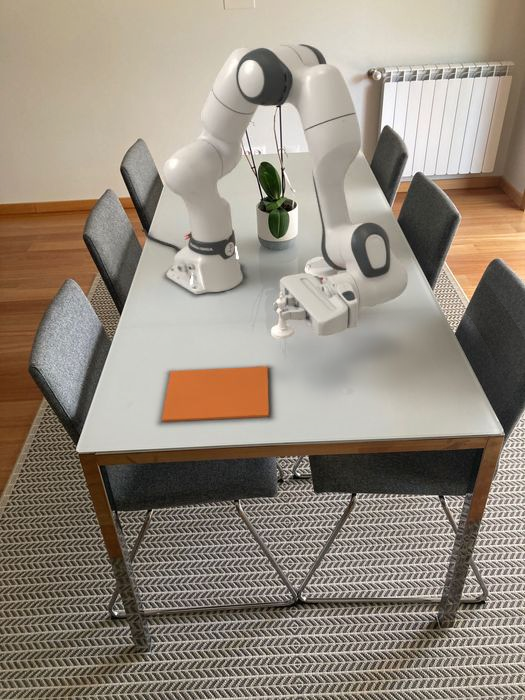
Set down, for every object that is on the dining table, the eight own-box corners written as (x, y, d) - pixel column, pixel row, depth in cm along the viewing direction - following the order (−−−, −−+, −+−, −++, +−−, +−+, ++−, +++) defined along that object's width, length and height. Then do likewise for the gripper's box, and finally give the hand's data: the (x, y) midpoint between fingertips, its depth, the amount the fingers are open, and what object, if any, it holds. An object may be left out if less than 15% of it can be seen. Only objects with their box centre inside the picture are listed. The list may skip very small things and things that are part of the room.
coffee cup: (311, 328, 147) (311, 274, 138) (301, 311, 154) (299, 259, 145) (343, 321, 149) (345, 268, 140) (331, 305, 155) (332, 253, 146)
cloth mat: (162, 421, 123) (161, 419, 123) (171, 373, 136) (170, 371, 136) (268, 416, 123) (268, 414, 123) (267, 368, 136) (267, 366, 135)
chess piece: (293, 325, 130) (291, 285, 124) (295, 338, 126) (293, 297, 120) (270, 326, 130) (268, 286, 124) (271, 339, 126) (269, 299, 120)
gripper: (315, 261, 134) (257, 276, 130) (361, 305, 118) (298, 323, 115) (315, 285, 138) (259, 300, 134) (360, 331, 122) (298, 350, 118)
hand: (277, 311), depth 124 cm, fingers closed on chess piece
